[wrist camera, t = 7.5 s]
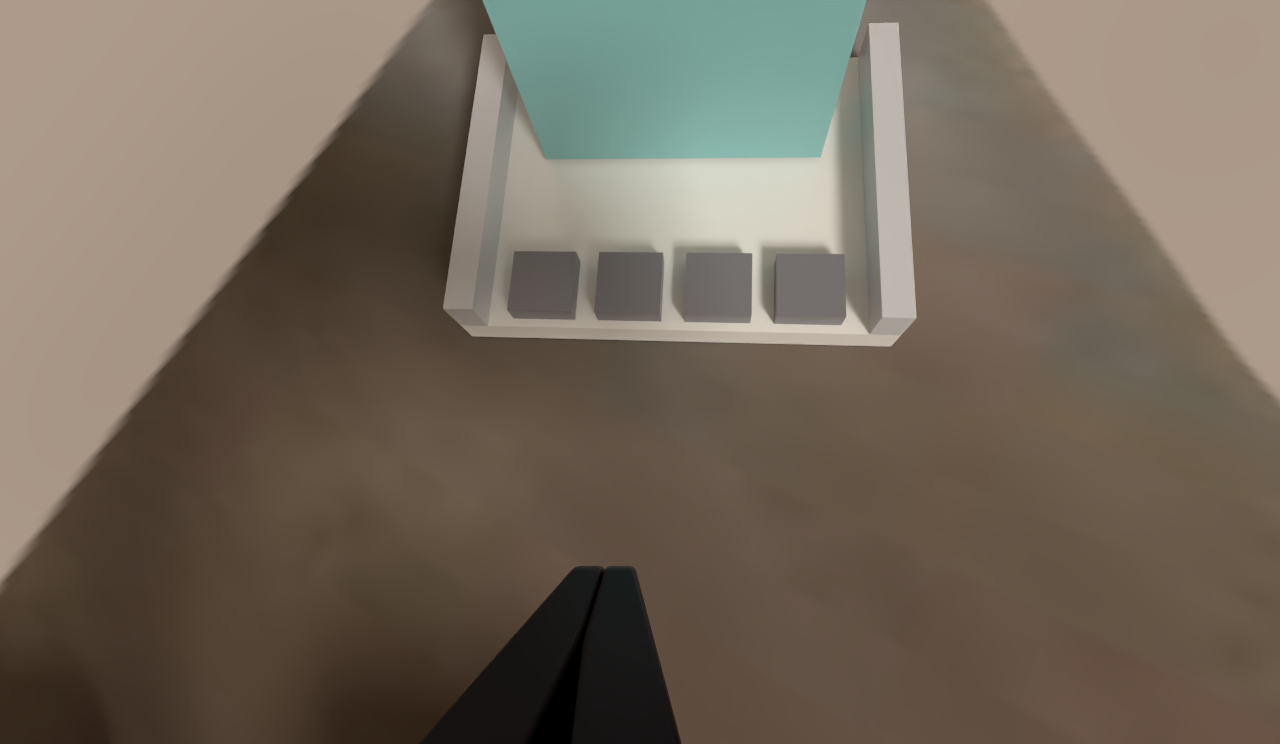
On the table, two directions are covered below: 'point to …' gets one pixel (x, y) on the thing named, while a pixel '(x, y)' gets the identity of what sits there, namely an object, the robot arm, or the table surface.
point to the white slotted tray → (689, 229)
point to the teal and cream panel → (678, 74)
